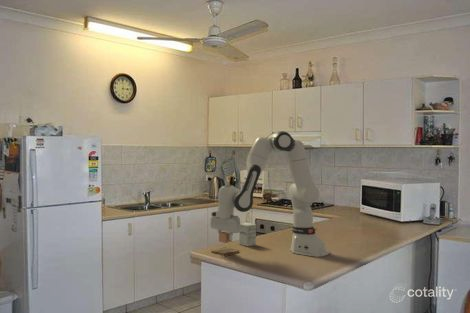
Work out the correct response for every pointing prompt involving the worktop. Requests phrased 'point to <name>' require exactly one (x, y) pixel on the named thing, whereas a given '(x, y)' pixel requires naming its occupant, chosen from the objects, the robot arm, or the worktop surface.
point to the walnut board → (225, 251)
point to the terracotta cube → (224, 237)
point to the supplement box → (247, 234)
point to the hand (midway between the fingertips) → (225, 238)
